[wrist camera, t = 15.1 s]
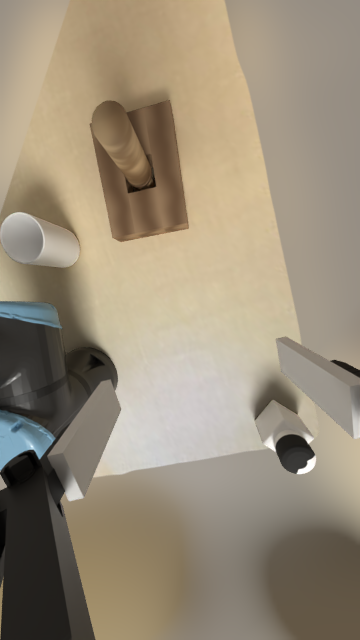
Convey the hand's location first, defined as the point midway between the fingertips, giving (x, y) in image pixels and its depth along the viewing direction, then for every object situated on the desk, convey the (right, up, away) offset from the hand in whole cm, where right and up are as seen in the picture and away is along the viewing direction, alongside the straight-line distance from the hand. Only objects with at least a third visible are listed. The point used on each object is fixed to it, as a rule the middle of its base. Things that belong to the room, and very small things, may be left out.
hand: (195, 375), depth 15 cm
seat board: (-8, +32, +25) cm, 42 cm away
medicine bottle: (+21, -19, +32) cm, 42 cm away
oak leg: (-8, +32, +25) cm, 42 cm away
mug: (-29, +21, +30) cm, 47 cm away
